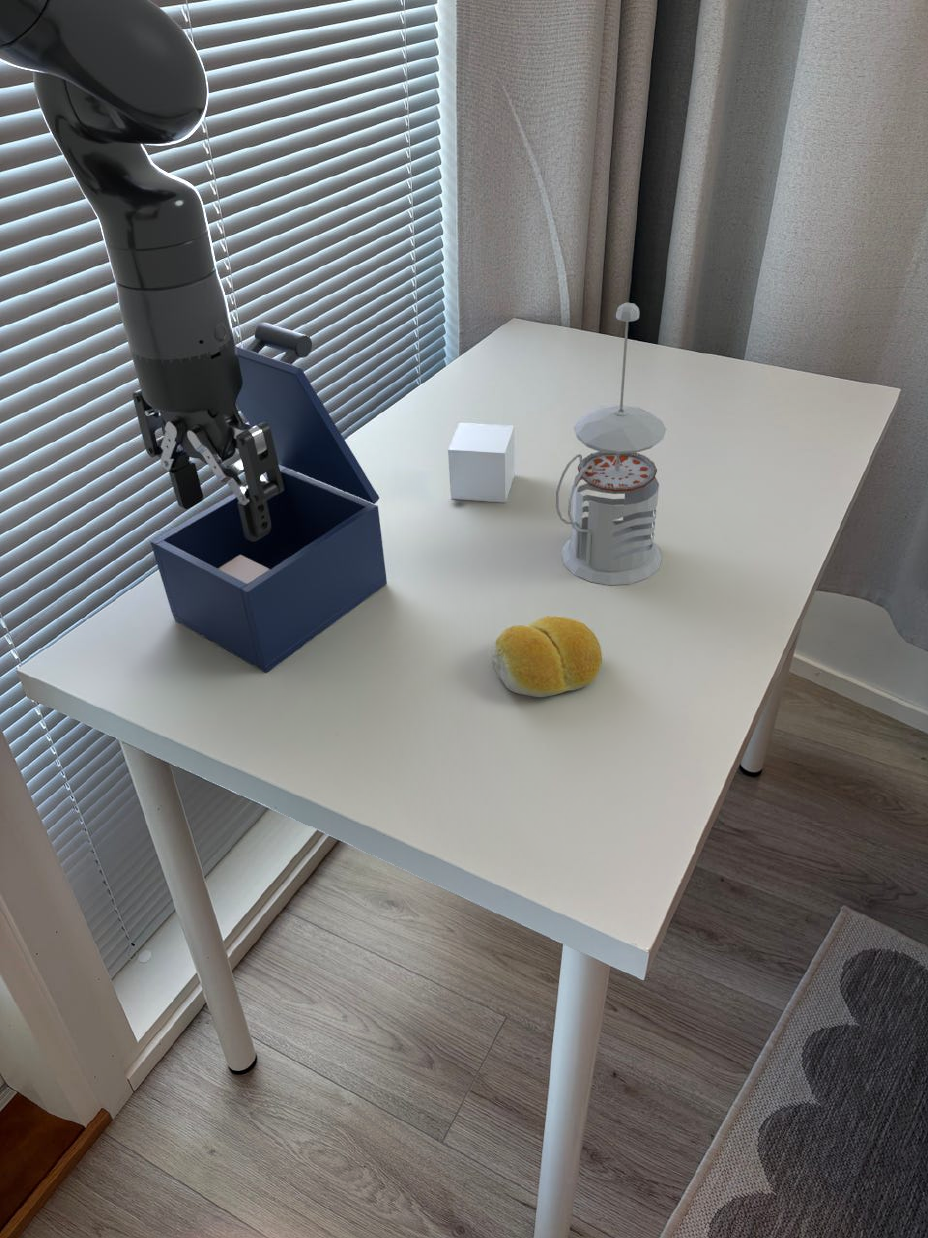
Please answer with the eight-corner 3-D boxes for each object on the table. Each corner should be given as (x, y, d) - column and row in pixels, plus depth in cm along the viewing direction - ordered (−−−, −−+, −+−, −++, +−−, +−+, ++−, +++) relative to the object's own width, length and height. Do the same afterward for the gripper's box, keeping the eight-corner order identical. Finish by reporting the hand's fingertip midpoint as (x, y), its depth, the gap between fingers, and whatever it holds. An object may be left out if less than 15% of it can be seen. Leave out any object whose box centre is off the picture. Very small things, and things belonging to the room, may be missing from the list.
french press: (683, 557, 92) (716, 304, 76) (596, 606, 87) (611, 344, 71) (612, 515, 98) (628, 273, 82) (526, 558, 93) (526, 308, 77)
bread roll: (616, 683, 79) (620, 647, 76) (517, 712, 77) (516, 675, 74) (574, 624, 85) (576, 589, 82) (481, 649, 83) (479, 614, 80)
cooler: (266, 673, 82) (247, 592, 76) (173, 619, 88) (149, 541, 82) (387, 583, 91) (378, 505, 85) (295, 541, 97) (281, 465, 92)
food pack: (247, 636, 84) (236, 591, 81) (217, 620, 86) (205, 575, 83) (279, 613, 87) (270, 569, 84) (250, 597, 89) (240, 554, 86)
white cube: (450, 499, 102) (447, 449, 98) (462, 470, 107) (459, 422, 103) (506, 502, 101) (504, 452, 97) (515, 474, 106) (514, 425, 102)
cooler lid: (295, 374, 71) (333, 328, 73) (188, 338, 78) (225, 296, 79) (375, 504, 85) (406, 463, 86) (278, 464, 91) (309, 426, 93)
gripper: (80, 330, 71) (136, 513, 81) (203, 375, 64) (247, 570, 74) (161, 299, 75) (204, 476, 86) (284, 338, 68) (316, 526, 79)
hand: (224, 519), depth 80 cm, fingers open, 8 cm apart
